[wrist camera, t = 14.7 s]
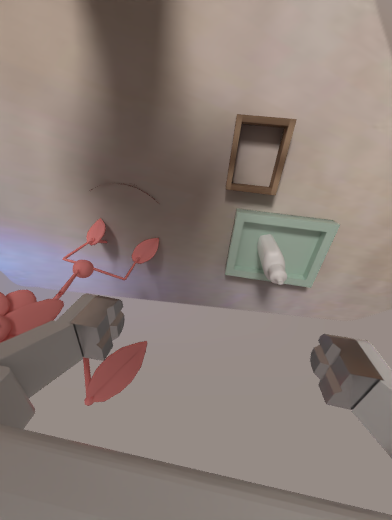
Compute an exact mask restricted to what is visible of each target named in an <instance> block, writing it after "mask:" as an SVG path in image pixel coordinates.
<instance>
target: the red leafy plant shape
mask: <svg viewBox="0 0 392 520" xmlns="http://www.w3.org/2000/svg"><path fill="white" fill-rule="evenodd" d="M119 184H120V183H119ZM125 185H126V184H125ZM129 186H130V185H129ZM97 187H98V186H97ZM132 187H133V186H132ZM135 188H136V187H135ZM137 189H138V188H137ZM91 190H92V189H91ZM139 190H140V189H139ZM141 191H142V190H141ZM143 192H144V191H143ZM145 193H146V192H145ZM149 196H150V195H149ZM152 198H153V197H152ZM153 199H154V198H153ZM154 200H155V199H154ZM105 231H106V226H105V224H104V222H103V221H102V219H101V218H100V219H99V220H98V221H96V222H95V224H94V225H93V226H92V227H91V228H90V230H89V231H88V233H87V242H86V243H85V244H83V245H82V246H80V247H79V248H77V249H76V250H74V251H73V252H71V253H70V254H68V255H67V256H65V257H64V258H63V259H62V260H65V261H68V262H72V263H75V264H74V265H73V273H74V274H73V275H72V276H71V278H70V279H69V280H68V281H67V282H66V284H65V285H64V286H63V287H62V288H61V290H60V291H59V293H58V294H56V296H55V297H54V298H53V299H46V300H43V301H39V302H37V301H36V297H35V296H34V294H33V293H32V292H31V291H29V290H18V291H15V292H11V293H9V294H7V295H6V296H5V295H4V294H2V293H1V292H0V343H1V342H4V341H6V340H8V339H11V338H13V337H15V336H17V335H20V334H22V333H24V332H27V331H29V330H31V329H34V328H36V327H38V326H41V325H43V324H45V323H48V322H50V321H53V320H54V319H55V318H56V317H57V315H58V314H59V313H60V311H61V309H62V308H63V306H64V303H63V301H61V300H59V298H60V297H61V296H62V295H63V294H64V293H65V291H66V290H67V289H68V287H69V286H70V284H71V283H72V281H73V280H74V278H75V277H76V276H77V277H80V278H86V277H89V276H90V275H91V274H92V273H93V270H95V271H98V272H101V273H104V274H107V275H110V276H113V277H116V278H119V279H122V280H126V279H127V277H128V276H129V274H130V272H131V271H132V269H133V268H134V266H135V264H136V263H138V264H142V263H144V262H147V261H149V260H150V259H151V258H152V257H154V255H155V253H156V252H157V250H158V244H159V238H152V239H147V240H145V241H143V242H141V243H139V244H138V245H137V247H136V248H135V249H134V252H133V254H132V259H133V261H135V262H134V264H133V265H132V267H131V268H130V270H129V272H128V273H127V275H126V276H125V278H123V277H120V276H117V275H114V274H111V273H108V272H105V271H102V270H99V269H97V268H94V267H93V264H92V263H91V262H89V261H87V260H78V261H73V260H69V259H66V258H68V257H69V256H71V255H72V254H74V253H75V252H77V251H78V250H80V249H81V248H83V247H84V246H86V245H87V244H90V245H91V246H92V245H95V244H97V243H107V241H104V240H101V239H102V237H103V236H104V234H105ZM146 347H147V341H144V342H138V343H135V344H132V345H129V346H125V347H122V348H120V349H119V350H117V351H116V352H114V353H113V354H111V355H110V356H108V357H107V358H106V359H105V360H104V361H103V362H102V363H101V364H100V366H99V367H98V368H97V369H96V371H95V372H94V375H93V376H92V378H91V376H90V366H89V358H84V357H83V362H84V374H85V386H86V399H85V405H87V406H89V405H92V404H93V402H104V401H106V400H108V399H109V398H111V397H113V396H114V395H116V394H118V393H120V392H121V391H122V390H123V389H124V388H125V387H126V386H127V385H128V384H130V383H131V382H132V380H133V379H134V377H135V376H136V374H137V372H138V371H139V369H140V368H141V365H142V362H143V359H144V355H145V352H146Z"/></svg>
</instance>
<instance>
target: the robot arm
mask: <svg viewBox="0 0 392 520" xmlns="http://www.w3.org/2000/svg"><path fill="white" fill-rule="evenodd" d="M122 308H123V304H122V301H121V300H119V299H114V298H109V297H104V296H99V295H93V294H88V293H87V294H84V295H82V296H81V297H80V298H79V299H78V300H77V301H76V302H75V303H74V304H73V305H72V306H71V307H70V308H69V309H68V310H67V311H66V312H65V313H64V314H63V315H62V316H61V317H60V318H59V319H58V320H56V321H50V322H48V323H45V324H43V325H41V326H38V327H36V328H34V329H31V330H29V331H27V332H24V333H22V334H20V335H17V336H15V337H13V338H11V339H8V340H6V341H4V342H1V343H0V520H392V515H389V514H385V513H381V512H377V511H372V510H368V509H363V508H360V507H355V506H351V505H347V504H342V503H338V502H334V501H329V500H325V499H321V498H316V497H312V496H308V495H303V494H299V493H295V492H291V491H286V490H282V489H278V488H274V487H269V486H265V485H261V484H256V483H252V482H247V481H243V480H239V479H235V478H230V477H226V476H222V475H218V474H213V473H209V472H205V471H200V470H196V469H191V468H188V467H183V466H179V465H174V464H170V463H166V462H162V461H157V460H153V459H149V458H144V457H140V456H136V455H132V454H127V453H123V452H118V451H114V450H110V449H106V448H102V447H97V446H92V445H88V444H84V443H80V442H76V441H71V440H67V439H63V438H58V437H54V436H49V435H45V434H41V433H37V432H32V431H28V430H24V428H25V426H26V425H27V423H28V422H29V421H30V419H31V418H32V417H33V415H34V414H35V408H34V407H33V405H32V403H31V402H30V400H29V398H30V397H31V396H33V395H34V394H35V393H37V392H38V391H39V390H41V389H42V388H44V387H45V386H46V385H48V384H49V383H50V382H52V381H53V380H55V379H56V378H57V377H59V376H60V375H61V374H62V373H64V372H65V371H67V370H68V369H70V368H71V367H72V366H74V365H75V364H76V363H78V362H79V361H81V360H82V359H83V357H84V358H91V359H96V360H103V361H104V360H105V358H106V357H107V355H108V353H109V352H110V350H111V349H112V347H113V344H112V340H114V339H116V338H117V337H118V336H119V335H120V333H121V331H122V328H123V326H124V314H123V313H122V312H121V309H122ZM318 341H319V343H320V345H318V346H317V347H315V348H314V349H313V351H312V353H311V359H310V361H311V366H312V369H313V372H314V373H315V375H316V376H317V377H318V378H319V379H320V382H319V387H320V390H321V392H322V395H323V397H324V400H325V402H326V404H328V405H332V406H337V407H341V408H346V409H350V410H352V413H353V414H354V415H355V416H356V417H357V418H358V420H359V421H360V422H361V423H362V424H363V425H364V426H365V428H366V429H367V430H368V431H369V432H370V434H371V435H372V436H373V437H374V438H375V439H376V440H377V442H378V443H379V444H380V445H381V446H382V448H383V449H384V450H385V451H386V452H387V453H388V455H389V456H390V457H391V458H392V370H391V369H390V367H389V366H388V365H387V364H386V362H385V361H384V359H383V358H382V357H381V356H380V354H379V353H378V352H377V350H376V349H375V348H374V346H373V345H372V344H371V343H370V342H368V341H367V340H360V339H354V338H347V337H341V336H335V335H328V334H323V335H322V336H320V338H319V340H318Z"/></svg>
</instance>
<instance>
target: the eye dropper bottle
mask: <svg viewBox="0 0 392 520" xmlns="http://www.w3.org/2000/svg"><path fill="white" fill-rule="evenodd" d="M257 250H258V255H259V258H260V261H261V264H262V268H263V271H264V274H265V276H266V277H267V279H268V280H270V281H271V282H273V283H275V284H279V285H282V284H283V282H285V280H286V279H287V274H286V271H285V260H284V257H283V255H282V253H281V251H280V249H279V247H278V245H277V243H276V241H275V239H274V237H273V236H272V235H271V234H267V235H261V236H260V237H259V239H258V243H257Z"/></svg>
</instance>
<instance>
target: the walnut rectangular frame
mask: <svg viewBox="0 0 392 520" xmlns="http://www.w3.org/2000/svg"><path fill="white" fill-rule="evenodd" d="M296 120H297V119H287V118H275V117H263V116H252V115H240V114H237V117H236V124H235V130H234V137H233V143H232V150H231V156H230V163H229V169H228V176H227V182H226V190H235V191H243V192H252V193H261V194H269V195H276V192H277V188H278V185H279V181H280V178H281V174H282V170H283V167H284V163H285V159H286V156H287V152H288V149H289V145H290V141H291V138H292V134H293V131H294V127H295V123H296ZM241 124H247V125H259V126H270V127H281V128H284V131H283V135H282V139H281V143H280V147H279V150H278V154H277V158H276V162H275V166H274V170H273V174H272V178H271V182H270V186H269V187H263V186H255V185H246V184H237V183H232V178H233V172H234V166H235V160H236V154H237V148H238V142H239V136H240V130H241Z"/></svg>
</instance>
